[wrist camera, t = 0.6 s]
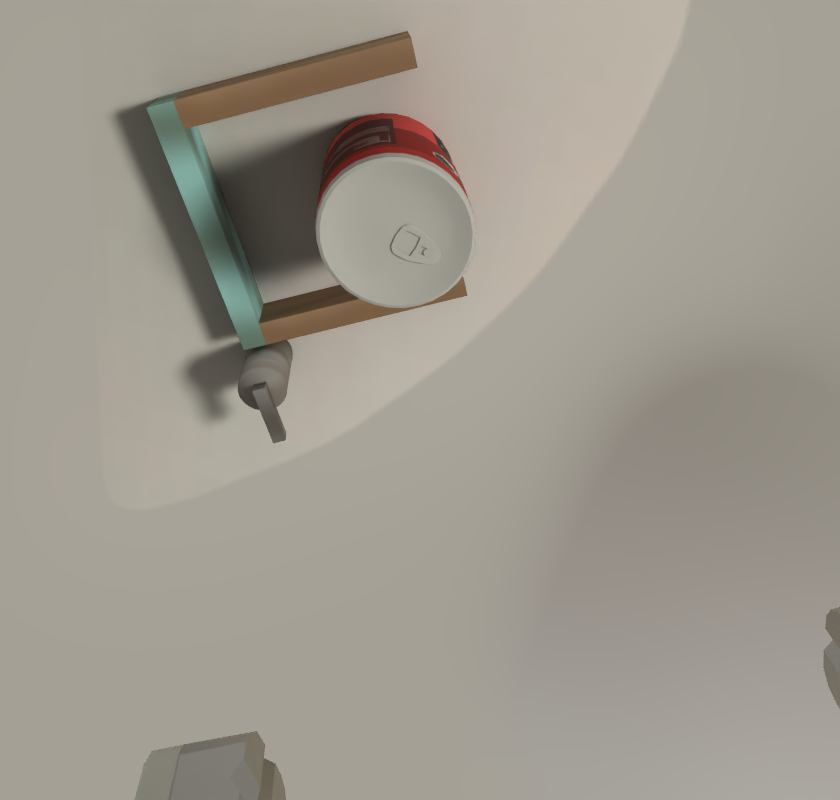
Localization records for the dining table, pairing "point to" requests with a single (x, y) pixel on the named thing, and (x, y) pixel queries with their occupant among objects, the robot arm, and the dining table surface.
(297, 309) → the bay
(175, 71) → the dining table surface
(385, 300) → the canned food
